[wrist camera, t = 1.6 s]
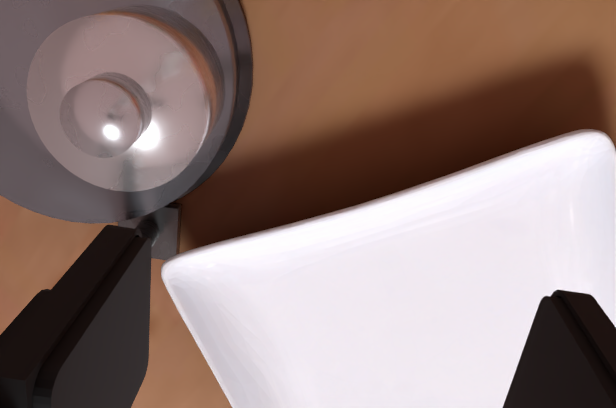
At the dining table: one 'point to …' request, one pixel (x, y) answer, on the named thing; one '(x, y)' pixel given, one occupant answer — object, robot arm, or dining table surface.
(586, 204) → the salad plate
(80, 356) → the robot arm
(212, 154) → the turntable
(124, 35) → the cover
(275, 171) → the dining table surface
